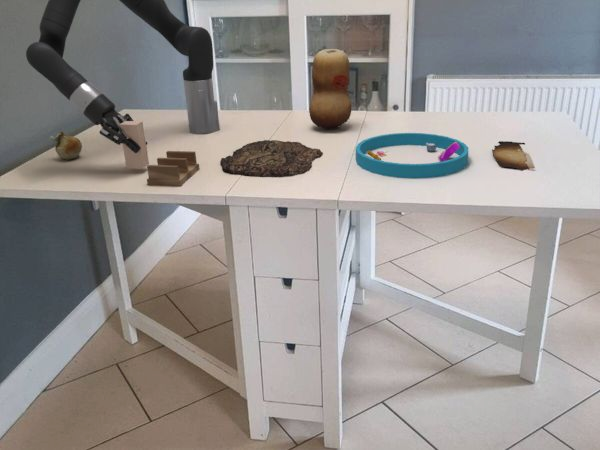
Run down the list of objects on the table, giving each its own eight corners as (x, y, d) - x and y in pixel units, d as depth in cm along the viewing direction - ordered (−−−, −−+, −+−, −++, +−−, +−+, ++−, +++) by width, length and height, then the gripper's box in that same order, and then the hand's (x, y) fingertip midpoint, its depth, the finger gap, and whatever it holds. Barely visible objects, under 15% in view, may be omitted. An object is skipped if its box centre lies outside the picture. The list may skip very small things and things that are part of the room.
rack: (168, 168, 163) (166, 150, 161) (199, 168, 161) (197, 151, 159) (147, 185, 151) (144, 166, 149) (180, 186, 149) (178, 167, 147)
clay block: (132, 163, 163) (125, 121, 158) (149, 164, 162) (142, 121, 157) (126, 167, 160) (119, 124, 155) (143, 168, 159) (136, 124, 154)
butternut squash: (324, 136, 186) (322, 54, 176) (302, 127, 197) (299, 50, 187) (360, 128, 192) (360, 49, 182) (337, 120, 203) (336, 45, 193)
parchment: (536, 171, 149) (536, 168, 149) (495, 169, 151) (495, 166, 151) (525, 145, 171) (525, 142, 171) (489, 143, 174) (490, 140, 173)
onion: (61, 164, 170) (55, 137, 167) (53, 158, 176) (48, 131, 173) (87, 158, 174) (82, 132, 171) (79, 152, 180) (74, 127, 177)
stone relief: (205, 158, 156) (250, 129, 182) (207, 174, 158) (251, 143, 184) (298, 165, 148) (332, 133, 174) (299, 182, 150) (332, 148, 176)
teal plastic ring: (471, 181, 146) (473, 158, 143) (350, 178, 151) (350, 156, 149) (463, 146, 172) (465, 126, 170) (360, 144, 178) (360, 125, 175)
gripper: (85, 99, 148) (138, 147, 151) (112, 87, 161) (160, 131, 163) (70, 119, 152) (122, 166, 154) (98, 106, 164) (145, 149, 167)
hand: (141, 148), depth 159 cm, fingers closed on clay block, 3 cm apart
